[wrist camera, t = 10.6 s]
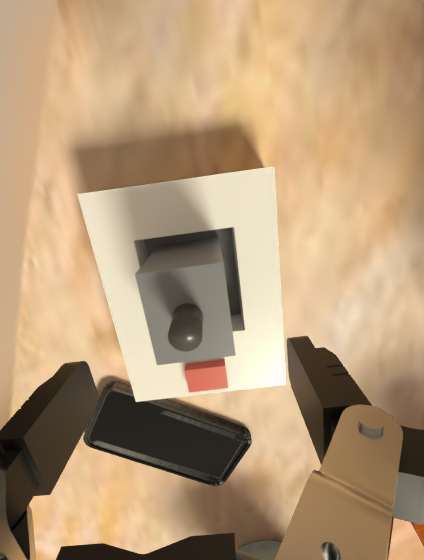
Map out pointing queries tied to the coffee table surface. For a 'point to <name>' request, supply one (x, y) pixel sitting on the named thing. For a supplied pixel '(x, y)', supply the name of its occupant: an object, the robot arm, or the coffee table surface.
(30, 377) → the coffee table surface
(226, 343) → the plug
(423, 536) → the smoothie
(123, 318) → the socket plate
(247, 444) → the phone
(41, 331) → the coffee table surface
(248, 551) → the green cup
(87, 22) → the coffee table surface
